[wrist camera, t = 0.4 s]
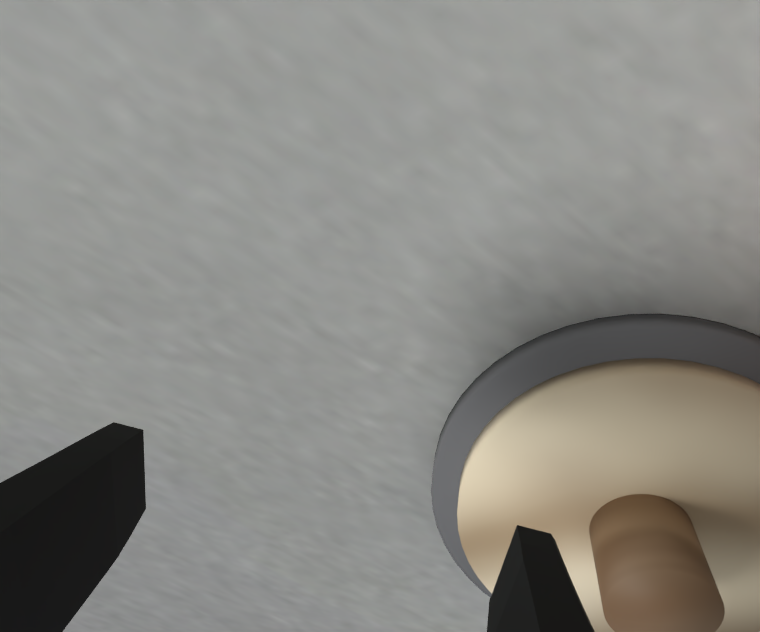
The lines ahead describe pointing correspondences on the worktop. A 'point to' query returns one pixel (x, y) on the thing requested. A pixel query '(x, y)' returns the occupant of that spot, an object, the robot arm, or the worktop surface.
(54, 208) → the worktop surface
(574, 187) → the worktop surface
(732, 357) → the mat
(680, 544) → the lid
